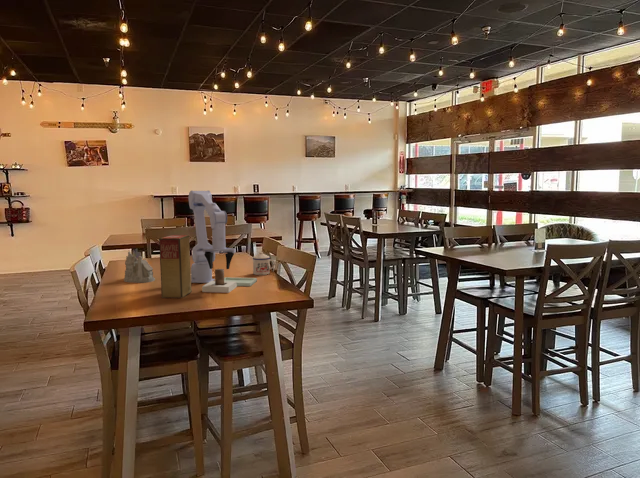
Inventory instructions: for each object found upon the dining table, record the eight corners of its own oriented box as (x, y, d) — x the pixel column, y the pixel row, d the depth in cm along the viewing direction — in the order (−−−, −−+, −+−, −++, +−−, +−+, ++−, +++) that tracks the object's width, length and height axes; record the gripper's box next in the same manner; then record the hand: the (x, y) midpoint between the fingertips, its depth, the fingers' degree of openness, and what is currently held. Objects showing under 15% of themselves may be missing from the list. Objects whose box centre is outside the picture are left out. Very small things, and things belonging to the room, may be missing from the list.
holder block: (202, 291, 206) (202, 286, 206) (211, 286, 218) (211, 280, 218) (228, 292, 205) (228, 287, 205) (236, 286, 217) (236, 281, 217)
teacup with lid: (255, 275, 244) (254, 253, 242) (251, 272, 252) (250, 251, 251) (277, 274, 248) (277, 252, 247) (272, 271, 256) (272, 250, 255)
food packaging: (171, 291, 208) (169, 234, 205) (192, 291, 208) (190, 234, 205) (160, 298, 195) (158, 238, 192) (182, 298, 195) (180, 238, 192)
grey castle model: (144, 283, 224) (143, 251, 223) (116, 282, 229) (115, 251, 228) (165, 279, 238) (164, 249, 238) (138, 278, 244) (137, 249, 243)
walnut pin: (214, 290, 210) (213, 270, 209) (217, 288, 214) (216, 268, 213) (222, 290, 209) (222, 270, 208) (225, 288, 213) (225, 268, 212)
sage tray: (217, 285, 220) (217, 282, 220) (225, 280, 232) (224, 277, 232) (250, 286, 218) (250, 283, 218) (256, 281, 230) (256, 278, 230)
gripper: (199, 239, 206) (200, 269, 207) (232, 239, 204) (232, 270, 206) (205, 237, 213) (206, 267, 214) (236, 237, 211) (237, 267, 213)
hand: (219, 268), depth 211 cm, fingers open, 7 cm apart
